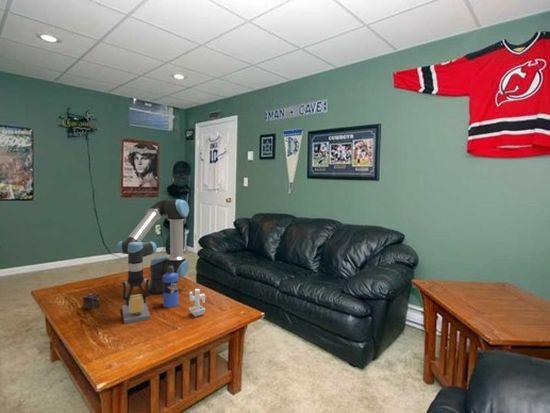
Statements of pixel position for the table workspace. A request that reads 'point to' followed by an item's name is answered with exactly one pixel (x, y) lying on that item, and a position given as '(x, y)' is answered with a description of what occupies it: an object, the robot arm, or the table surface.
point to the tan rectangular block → (136, 303)
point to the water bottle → (170, 288)
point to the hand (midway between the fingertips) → (136, 309)
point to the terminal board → (133, 317)
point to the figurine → (197, 303)
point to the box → (91, 301)
